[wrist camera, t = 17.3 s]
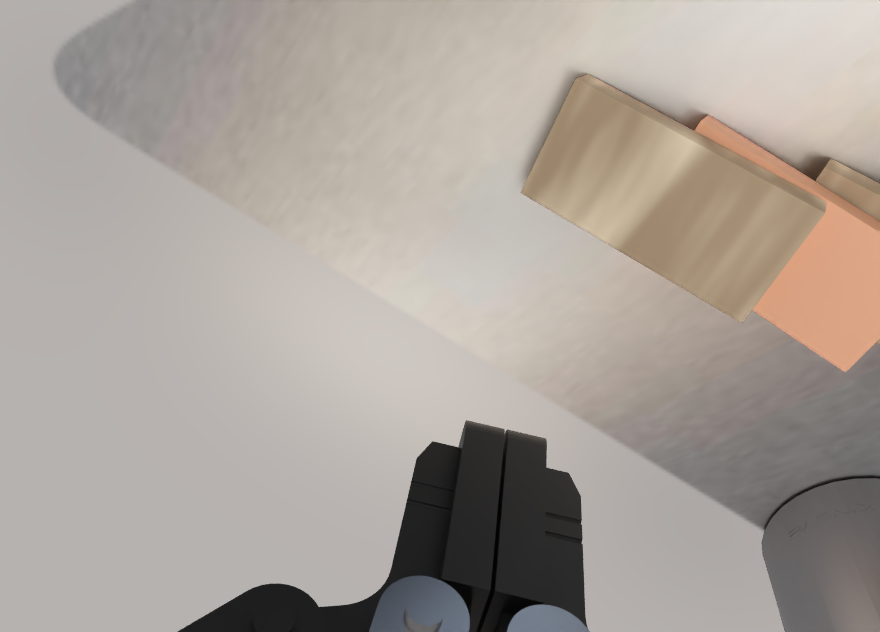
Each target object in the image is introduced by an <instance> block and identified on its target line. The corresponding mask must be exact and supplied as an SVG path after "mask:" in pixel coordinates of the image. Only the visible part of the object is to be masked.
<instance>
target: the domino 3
mask: <svg viewBox="0 0 880 632" xmlns="http://www.w3.org/2000/svg"><path fill="white" fill-rule="evenodd" d="M815 182H817V183H819V184H820V185H822V186H824V187H825V188H827V189H828V190H830V191H832V192H833V193H835V194H836V195H838V196H840V197H841V198H843V199H844V200H846V201H848V202H849V203H851V204H852V205H854V206H856V207H857V208H859V209H861V210H862V211H864V212H865V213H867V214H869V215H870V216H872V217H873V218H875V219H877V220H878V221H880V183H878V182H876V181H874V180H872V179H870V178H868V177H866V176H864V175H862V174H860V173H858V172H856V171H854V170H852V169H850V168H848V167H847V166H845V165H843V164H841V163H839V162H837V161H835V160H833V159H830V160H829V161H828V163H827V164H826V166H825V167H824V169H823V170H822V171H821V173H820V174H819V176H818V177H817V179H816V180H815ZM876 343H878V344H879V345H880V339H879V340H878V341H877V342H876Z"/></svg>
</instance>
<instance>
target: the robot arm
mask: <svg viewBox="0 0 880 632" xmlns="http://www.w3.org/2000/svg"><path fill="white" fill-rule="evenodd" d="M504 432H505V431H504V429H501V428H497V427H493V426H489V425H484V424H480V423H475V422H471V421H466V422H465V425H464V428H463V432H462V436H461V440H460V443H459V447H454V446H450V445H446V444H441V443H437V442H432V443H431V444H430V445H429V446H428V447H427V448H426V449H425V450H424V451H423V452H422V453H421V454H420V456H419V457H418V458H417V460H416V464H415V468H414V473H413V477H412V481H411V486H410V490H409V494H408V499H407V503H406V508H405V512H404V516H403V520H402V525H401V529H400V533H399V537H398V542H397V547H396V550H395V555H394V559H393V564H392V568H391V571H390V574H389V577H388V579H387V580H386V582H385V584H384V585H383V586H382V587H381V589H379V590H378V591H377V592H376V593H375V594H373V595H372V596H370V597H369V598H367V599H365V600H363V601H360V602H357V603H354V604H349V605H341V606H330V607H329V606H328V607H318V605H317V604H316V602H315V601H314V600H313V599H312V598H311V597H310V596H309V595H308V594H307V593H305V592H304V591H302V590H300V589H298V588H296V587H293V586H290V585H285V584H266V585H261V586H258V587H255V588H252V589H250V590H248V591H246V592H245V593H243V594H241V595H239V596H238V597H236V598H235V599H233V600H231V601H229V602H227V603H226V604H224V605H222V606H221V607H219V608H217V609H215V610H214V611H212V612H210V613H209V614H207V615H205V616H204V617H202V618H200V619H198V620H197V621H195V622H193V623H192V624H190V625H188V626H186V627H185V628H183V629H181V630H180V631H178V632H590V631H589V630H588V628H587V624H586V618H585V598H584V571H583V546H582V543H581V542H582V525H581V520H582V519H581V496H580V494H579V492H578V490H577V488H576V486H575V484H574V482H573V480H572V478H571V477H570V475H569V473H567V472H562V471H558V470H554V469H549V468H546V450H547V442H546V439H545V438H541V437H537V436H532V435H528V434H523V433H519V432H515V431H511V430H507V431H506V433H504ZM504 434H505V435H504ZM762 550H763V557H764V560H765V564H766V567H767V571H768V574H769V577H770V581H771V584H772V588H773V591H774V595H775V598H776V601H777V605H778V608H779V612H780V616H781V620H782V623H783V626H784V630H785V632H880V479H877V478H864V479H849V480H843V481H837V482H832V483H829V484H826V485H822V486H819V487H816V488H813V489H811V490H809V491H807V492H805V493H803V494H801V495H799V496H797V497H795V498H794V499H792V500H791V501H790V502H788V503H787V504H785V505H784V506H783V507H782V508H781V509H780V510H779V511H778V512H777V513H776V514H775V515H774V516H773V517H772V518H771V520H770V522H769V524H768V525H767V527H766V529H765V531H764V535H763V540H762Z"/></svg>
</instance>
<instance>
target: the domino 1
mask: <svg viewBox="0 0 880 632" xmlns="http://www.w3.org/2000/svg"><path fill="white" fill-rule="evenodd" d="M520 193H522V194H524V195H525V196H527V197H529V198H530V199H532V200H534V201H535V202H537V203H539V204H541V205H542V206H544V207H546V208H547V209H549V210H551V211H552V212H554V213H556V214H557V215H559V216H561V217H563V218H564V219H566V220H568V221H569V222H571V223H573V224H574V225H576V226H578V227H580V228H581V229H583V230H585V231H586V232H588V233H590V234H591V235H593V236H595V237H596V238H598V239H600V240H602V241H603V242H605V243H607V244H608V245H610V246H612V247H613V248H615V249H617V250H619V251H620V252H622V253H624V254H625V255H627V256H629V257H630V258H632V259H634V260H635V261H637V262H639V263H641V264H642V265H644V266H646V267H647V268H649V269H651V270H652V271H654V272H656V273H658V274H659V275H661V276H663V277H664V278H666V279H668V280H669V281H671V282H673V283H675V284H676V285H678V286H680V287H681V288H683V289H685V290H686V291H688V292H690V293H691V294H693V295H695V296H697V297H698V298H700V299H702V300H703V301H705V302H707V303H708V304H710V305H712V306H714V307H715V308H717V309H719V310H720V311H722V312H724V313H725V314H727V315H729V316H730V317H732V318H734V319H736V320H737V321H739V322H741V323H743V322H744V320H745V319H746V318H747V316H748V315H749V314H750V312H751V311H752V310H753V308H754V307H755V306H756V304H757V303H758V302H759V300H760V299H761V298H762V296H763V295H764V294H765V292H766V291H767V290H768V288H769V287H770V286H771V284H772V283H773V282H774V280H775V279H776V278H777V276H778V275H779V274H780V272H781V271H782V270H783V268H784V267H785V266H786V264H787V263H788V262H789V260H790V259H791V258H792V256H793V255H794V254H795V252H796V251H797V250H798V248H799V247H800V246H801V244H802V243H803V242H804V240H805V239H806V238H807V236H808V235H809V234H810V232H811V231H812V230H813V229H814V227H815V226H816V225H817V223H818V222H819V221H820V219H821V218H822V217H823V215H824V214H825V211H826V203H827V202H826V201H824V200H822V199H820V198H819V197H817V196H815V195H813V194H811V193H809V192H807V191H806V190H804V189H802V188H800V187H798V186H796V185H794V184H793V183H791V182H789V181H787V180H785V179H783V178H781V177H779V176H778V175H776V174H774V173H772V172H770V171H768V170H766V169H765V168H763V167H761V166H759V165H757V164H755V163H753V162H752V161H750V160H748V159H746V158H744V157H742V156H740V155H738V154H737V153H735V152H733V151H731V150H729V149H727V148H725V147H724V146H722V145H720V144H718V143H716V142H714V141H712V140H711V139H709V138H707V137H705V136H703V135H701V134H699V133H697V132H696V131H694V130H692V129H690V128H688V127H686V126H684V125H683V124H681V123H679V122H677V121H675V120H673V119H671V118H670V117H668V116H666V115H664V114H662V113H660V112H658V111H656V110H655V109H653V108H651V107H649V106H647V105H645V104H643V103H642V102H640V101H638V100H636V99H634V98H632V97H630V96H628V95H627V94H625V93H623V92H621V91H619V90H617V89H615V88H614V87H612V86H610V85H608V84H606V83H604V82H602V81H601V80H599V79H597V78H595V77H593V76H591V75H589V74H587V75H584V76H581V77H578V78H576V79H575V81H574V83H573V85H572V87H571V89H570V91H569V93H568V95H567V97H566V99H565V102H564V104H563V106H562V108H561V110H560V112H559V114H558V116H557V118H556V120H555V122H554V124H553V126H552V128H551V130H550V133H549V135H548V137H547V139H546V141H545V143H544V145H543V147H542V149H541V151H540V153H539V155H538V157H537V159H536V161H535V164H534V166H533V168H532V170H531V172H530V174H529V176H528V178H527V180H526V182H525V184H524V186H523V188H522V190H521V192H520Z"/></svg>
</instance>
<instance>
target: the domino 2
mask: <svg viewBox="0 0 880 632" xmlns="http://www.w3.org/2000/svg"><path fill="white" fill-rule="evenodd" d="M694 131H696V132H697V133H699V134H701V135H703V136H705V137H707V138H709V139H711V140H712V141H714V142H716V143H718V144H720V145H722V146H724V147H725V148H727V149H729V150H731V151H733V152H735V153H737V154H738V155H740V156H742V157H744V158H746V159H748V160H750V161H752V162H753V163H755V164H757V165H759V166H761V167H763V168H765V169H766V170H768V171H770V172H772V173H774V174H776V175H778V176H779V177H781V178H783V179H785V180H787V181H789V182H791V183H793V184H794V185H796V186H798V187H800V188H802V189H804V190H806V191H807V192H809V193H811V194H813V195H815V196H817V197H819V198H820V199H822V200H824V201H826V202H827V203H826V211H825V214H824V215H823V217H822V218H821V219H820V221H819V222H818V223H817V225H816V226H815V227H814V229H813V230H812V231H811V232H810V234H809V235H808V236H807V238H806V239H805V240H804V242H803V243H802V244H801V246H800V247H799V248H798V250H797V251H796V252H795V254H794V255H793V256H792V258H791V259H790V260H789V262H788V263H787V264H786V266H785V267H784V268H783V270H782V271H781V272H780V274H779V275H778V276H777V278H776V279H775V280H774V282H773V283H772V284H771V286H770V287H769V288H768V290H767V291H766V292H765V294H764V295H763V296H762V298H761V299H760V300H759V302H758V303H757V304H756V306H755V307H754V308H753V311H754V312H756V313H757V314H759V315H760V316H762V317H763V318H765V319H766V320H768V321H769V322H771V323H772V324H774V325H775V326H777V327H778V328H780V329H781V330H783V331H784V332H786V333H787V334H789V335H790V336H792V337H793V338H795V339H796V340H798V341H799V342H801V343H802V344H803V345H805V346H806V347H808V348H809V349H811V350H812V351H814V352H815V353H817V354H818V355H820V356H821V357H823V358H824V359H826V360H827V361H829V362H830V363H832V364H833V365H835V366H836V367H838V368H839V369H841V370H842V371H844V372H846V371H847V370H848V369H849V368H850V367H851V366H852V365H853V364H855V363H856V362H857V361H858V360H859V359H860V358H861V357H862V356H863V355H864V354H865V353H866V352H867V351H868V350H869V349H870V348H871V347H872V346H873V345H874V344H875V343H876V342H877V341H878V340H879V339H880V221H878V220H877V219H875V218H873V217H872V216H870V215H869V214H867V213H865V212H864V211H862V210H861V209H859V208H857V207H856V206H854V205H852V204H851V203H849V202H848V201H846V200H844V199H843V198H841V197H840V196H838V195H836V194H835V193H833V192H832V191H830V190H828V189H827V188H825V187H824V186H822V185H820V184H819V183H817V182H815V181H814V180H812V179H811V178H809V177H807V176H806V175H804V174H803V173H801V172H799V171H798V170H796V169H795V168H793V167H791V166H790V165H788V164H787V163H785V162H783V161H782V160H780V159H778V158H777V157H775V156H774V155H772V154H770V153H769V152H767V151H766V150H764V149H762V148H761V147H759V146H758V145H756V144H754V143H753V142H751V141H750V140H748V139H746V138H745V137H743V136H742V135H740V134H738V133H737V132H735V131H733V130H732V129H730V128H729V127H727V126H725V125H724V124H722V123H721V122H719V121H717V120H716V119H714V118H713V117H711V116H709V115H708V116H706V117H705V118H704V119H702V120H701V121H700V123H699V124H698V126H697V127H696V129H695V130H694Z"/></svg>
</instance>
